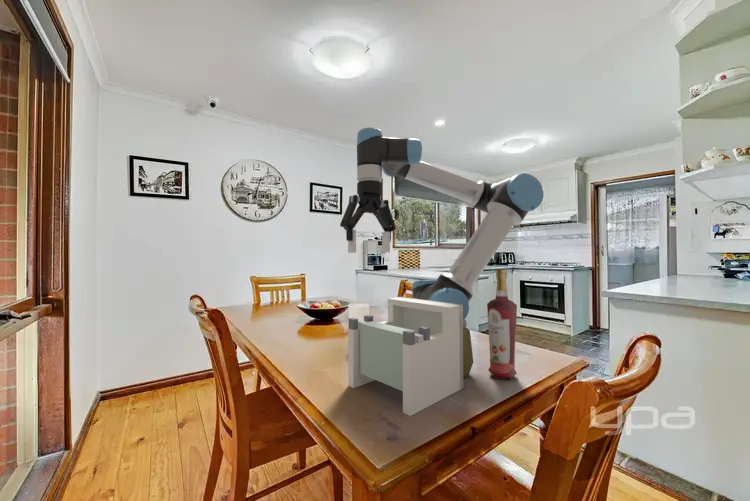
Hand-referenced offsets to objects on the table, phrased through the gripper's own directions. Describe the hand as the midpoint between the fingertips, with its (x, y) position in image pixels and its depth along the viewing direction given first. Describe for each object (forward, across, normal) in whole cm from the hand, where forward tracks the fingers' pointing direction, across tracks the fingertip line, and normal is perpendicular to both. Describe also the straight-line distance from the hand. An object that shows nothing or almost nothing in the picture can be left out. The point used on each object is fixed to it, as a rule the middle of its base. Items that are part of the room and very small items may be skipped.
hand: (369, 252), depth 95 cm
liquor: (+33, -18, +32) cm, 49 cm away
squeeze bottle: (+33, -11, +23) cm, 42 cm away
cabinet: (+33, +6, +19) cm, 38 cm away
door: (+29, +12, +19) cm, 37 cm away
